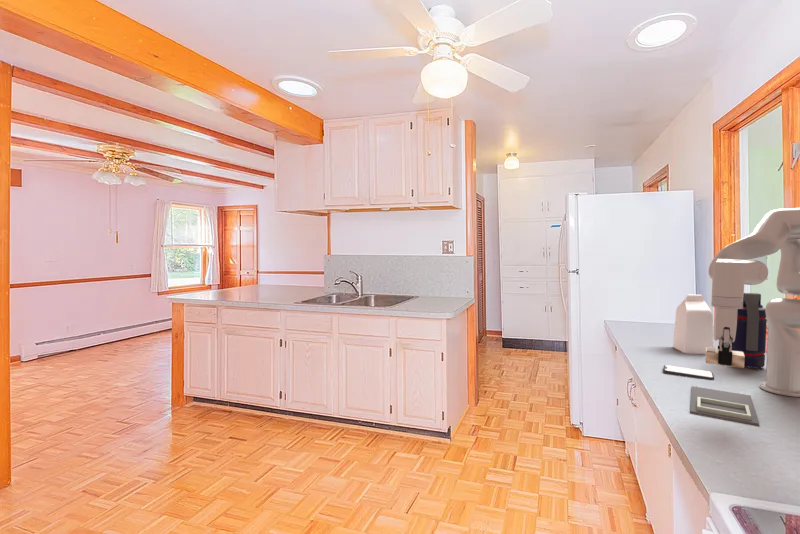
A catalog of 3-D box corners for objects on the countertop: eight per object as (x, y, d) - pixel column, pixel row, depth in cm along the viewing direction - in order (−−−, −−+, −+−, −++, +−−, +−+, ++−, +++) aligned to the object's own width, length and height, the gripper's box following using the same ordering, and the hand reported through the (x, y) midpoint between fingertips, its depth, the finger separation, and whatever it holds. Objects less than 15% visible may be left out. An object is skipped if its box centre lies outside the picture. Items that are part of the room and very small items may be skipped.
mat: (691, 387, 150) (691, 386, 150) (750, 397, 140) (750, 395, 140) (690, 412, 128) (690, 410, 128) (759, 425, 119) (759, 423, 119)
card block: (742, 363, 128) (743, 351, 128) (744, 368, 123) (744, 355, 123) (705, 358, 133) (706, 346, 133) (705, 363, 128) (706, 351, 128)
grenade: (723, 360, 182) (726, 290, 180) (759, 363, 177) (762, 291, 175) (732, 369, 170) (735, 294, 168) (770, 373, 165) (774, 295, 163)
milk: (684, 353, 194) (686, 296, 193) (672, 346, 206) (674, 293, 204) (713, 354, 192) (716, 296, 191) (700, 347, 204) (702, 293, 202)
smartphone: (712, 375, 165) (663, 368, 173) (712, 371, 165) (663, 364, 173) (714, 382, 157) (663, 374, 166) (714, 378, 157) (663, 370, 166)
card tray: (697, 410, 129) (697, 406, 129) (697, 400, 137) (697, 396, 137) (751, 420, 122) (751, 416, 122) (748, 409, 129) (748, 405, 129)
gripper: (710, 298, 136) (708, 353, 137) (711, 304, 122) (709, 366, 123) (741, 299, 132) (738, 357, 133) (745, 307, 118) (742, 371, 119)
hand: (724, 361), depth 128 cm, fingers closed on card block, 6 cm apart
